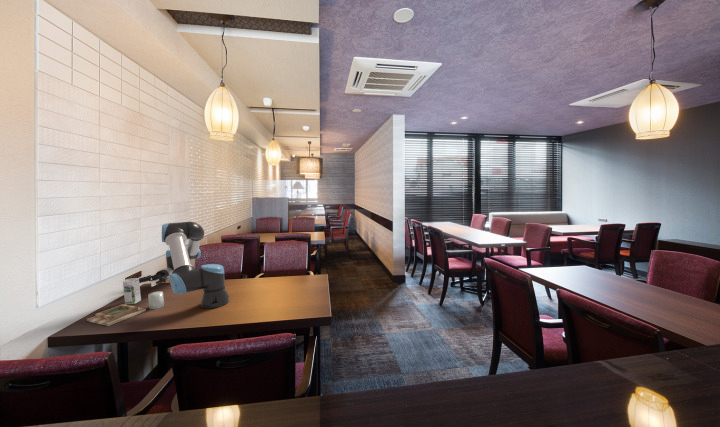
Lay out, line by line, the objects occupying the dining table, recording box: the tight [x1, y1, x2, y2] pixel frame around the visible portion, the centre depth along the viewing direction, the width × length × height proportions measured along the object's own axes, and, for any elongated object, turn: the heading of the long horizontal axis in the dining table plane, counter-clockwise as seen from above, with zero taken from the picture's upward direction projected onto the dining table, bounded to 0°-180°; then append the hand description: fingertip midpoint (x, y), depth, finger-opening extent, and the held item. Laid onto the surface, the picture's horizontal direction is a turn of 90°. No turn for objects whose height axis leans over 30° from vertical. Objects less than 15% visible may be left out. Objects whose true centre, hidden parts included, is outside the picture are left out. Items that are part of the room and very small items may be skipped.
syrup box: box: [122, 277, 142, 305], centre depth 171 cm, size 6×6×14 cm
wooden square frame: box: [86, 303, 147, 327], centre depth 153 cm, size 18×18×3 cm
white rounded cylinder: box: [147, 290, 165, 310], centre depth 164 cm, size 7×7×8 cm
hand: (140, 284), depth 178 cm, fingers open, 13 cm apart
